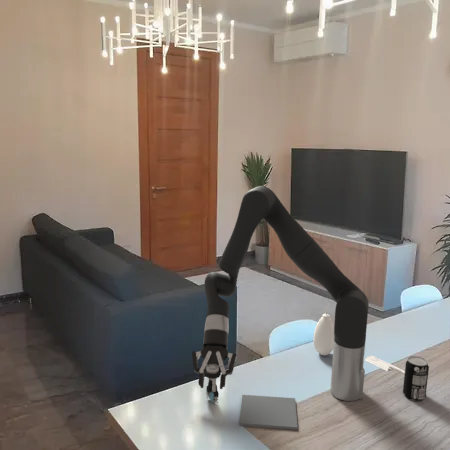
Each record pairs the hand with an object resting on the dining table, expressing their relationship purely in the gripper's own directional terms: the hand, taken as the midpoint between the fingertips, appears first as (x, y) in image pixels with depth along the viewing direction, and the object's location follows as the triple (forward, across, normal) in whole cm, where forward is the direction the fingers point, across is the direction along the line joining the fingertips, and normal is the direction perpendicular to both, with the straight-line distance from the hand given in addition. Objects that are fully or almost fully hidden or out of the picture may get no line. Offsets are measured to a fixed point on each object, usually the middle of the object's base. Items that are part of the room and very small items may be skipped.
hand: (211, 387), depth 136 cm
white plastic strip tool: (-16, +57, +26) cm, 65 cm away
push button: (+2, 0, +5) cm, 5 cm away
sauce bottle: (-21, +37, +31) cm, 52 cm away
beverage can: (-4, +62, +14) cm, 63 cm away
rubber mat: (+5, +17, +3) cm, 18 cm away
